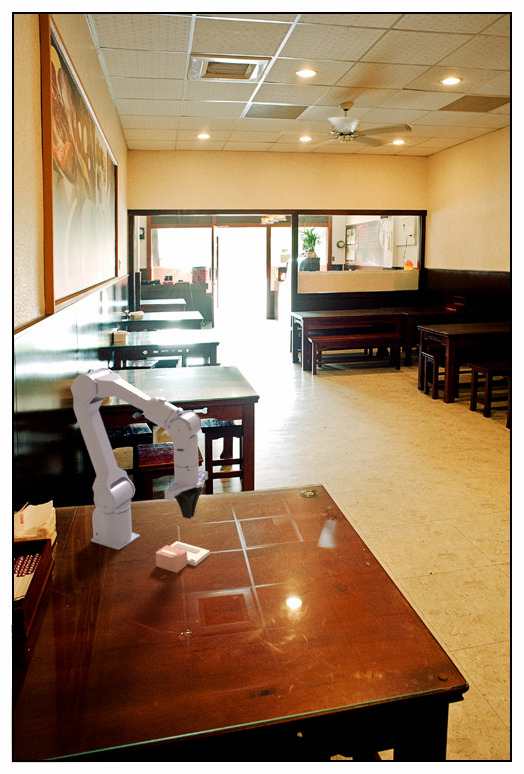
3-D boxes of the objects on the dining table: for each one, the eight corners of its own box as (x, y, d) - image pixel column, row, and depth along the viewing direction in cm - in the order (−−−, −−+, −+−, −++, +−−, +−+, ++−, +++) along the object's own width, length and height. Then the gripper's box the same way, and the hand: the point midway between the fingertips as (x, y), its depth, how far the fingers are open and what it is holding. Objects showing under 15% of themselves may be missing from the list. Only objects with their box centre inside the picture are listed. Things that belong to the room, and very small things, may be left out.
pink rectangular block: (156, 566, 130) (155, 552, 130) (167, 558, 134) (166, 544, 133) (176, 572, 128) (176, 558, 127) (187, 564, 131) (186, 550, 130)
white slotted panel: (161, 555, 135) (161, 551, 135) (176, 544, 140) (176, 540, 140) (195, 566, 130) (195, 561, 130) (209, 554, 136) (209, 550, 135)
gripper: (181, 476, 123) (183, 532, 127) (217, 456, 136) (218, 508, 139) (156, 471, 127) (159, 526, 130) (193, 452, 139) (195, 502, 142)
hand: (188, 516), depth 135 cm, fingers closed
